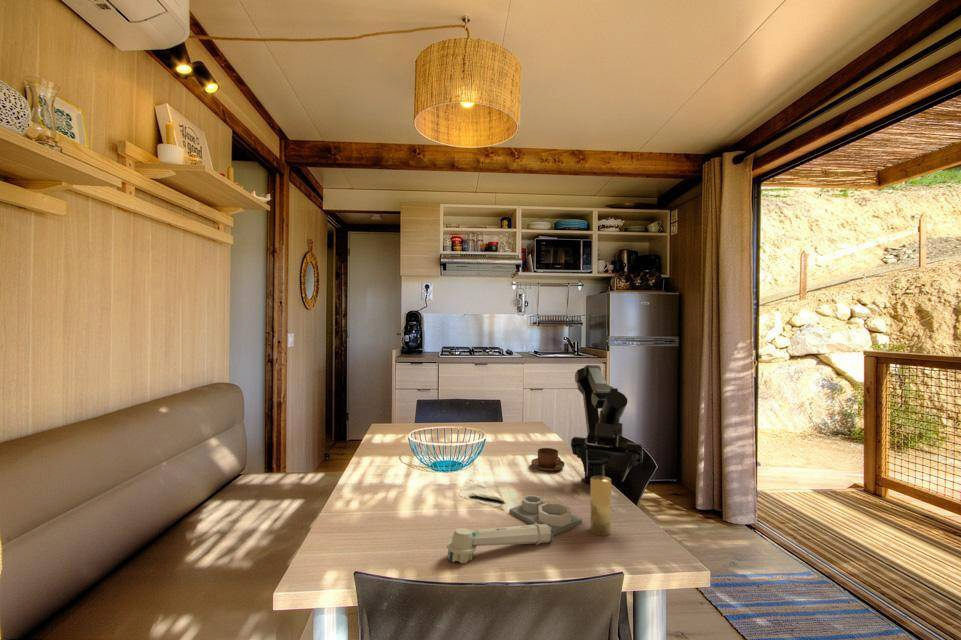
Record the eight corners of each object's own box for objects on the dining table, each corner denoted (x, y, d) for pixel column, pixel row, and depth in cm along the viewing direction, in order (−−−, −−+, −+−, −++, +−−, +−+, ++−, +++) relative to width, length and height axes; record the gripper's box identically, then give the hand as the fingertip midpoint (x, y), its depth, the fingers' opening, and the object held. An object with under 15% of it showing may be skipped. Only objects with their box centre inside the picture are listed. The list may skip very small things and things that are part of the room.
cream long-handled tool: (556, 528, 100) (454, 532, 91) (552, 558, 100) (450, 564, 91) (544, 519, 105) (447, 521, 96) (540, 547, 105) (442, 552, 96)
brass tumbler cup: (598, 524, 111) (598, 474, 111) (615, 531, 107) (615, 479, 107) (586, 529, 108) (586, 478, 108) (602, 537, 104) (603, 484, 104)
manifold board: (537, 502, 124) (537, 490, 124) (581, 523, 112) (581, 509, 112) (509, 512, 117) (509, 499, 117) (553, 535, 105) (553, 521, 105)
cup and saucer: (569, 466, 157) (569, 449, 157) (556, 476, 147) (557, 458, 147) (539, 460, 163) (539, 444, 163) (525, 469, 153) (525, 452, 153)
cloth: (451, 482, 142) (451, 475, 142) (491, 478, 145) (491, 472, 145) (466, 516, 116) (466, 508, 116) (514, 512, 119) (514, 503, 119)
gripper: (572, 408, 121) (564, 458, 111) (642, 413, 114) (640, 468, 103) (577, 429, 128) (569, 478, 118) (643, 436, 121) (641, 489, 111)
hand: (603, 478), depth 112 cm, fingers open, 9 cm apart
